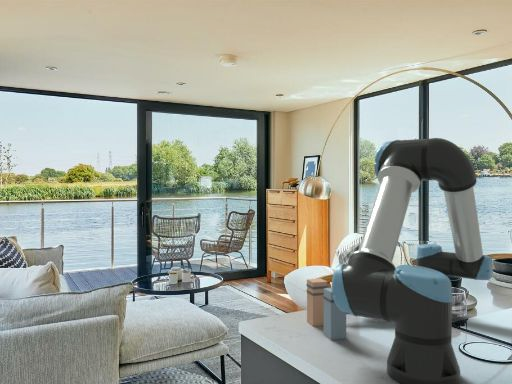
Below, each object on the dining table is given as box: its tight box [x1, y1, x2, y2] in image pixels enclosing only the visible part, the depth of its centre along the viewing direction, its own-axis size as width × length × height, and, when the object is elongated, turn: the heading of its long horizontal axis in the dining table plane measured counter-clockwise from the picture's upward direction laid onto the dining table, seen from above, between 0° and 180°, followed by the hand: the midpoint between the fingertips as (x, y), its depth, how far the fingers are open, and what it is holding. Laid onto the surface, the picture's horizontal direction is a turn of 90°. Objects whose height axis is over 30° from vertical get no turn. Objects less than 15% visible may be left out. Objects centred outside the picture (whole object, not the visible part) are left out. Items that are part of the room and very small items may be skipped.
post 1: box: [306, 277, 329, 327], centre depth 132 cm, size 5×5×13 cm
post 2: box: [323, 287, 347, 341], centre depth 120 cm, size 5×5×13 cm
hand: (336, 299), depth 134 cm, fingers closed
